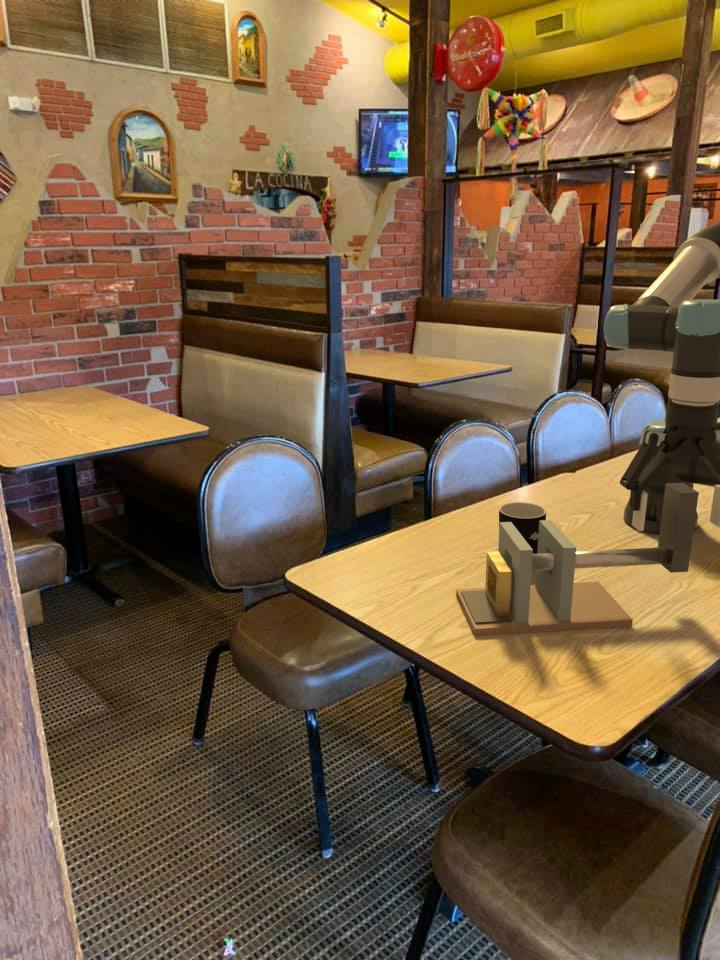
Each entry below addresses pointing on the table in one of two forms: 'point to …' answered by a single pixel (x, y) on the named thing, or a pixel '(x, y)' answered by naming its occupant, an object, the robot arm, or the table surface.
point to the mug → (524, 520)
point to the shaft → (668, 554)
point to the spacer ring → (498, 583)
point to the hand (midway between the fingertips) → (677, 526)
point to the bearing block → (542, 591)
